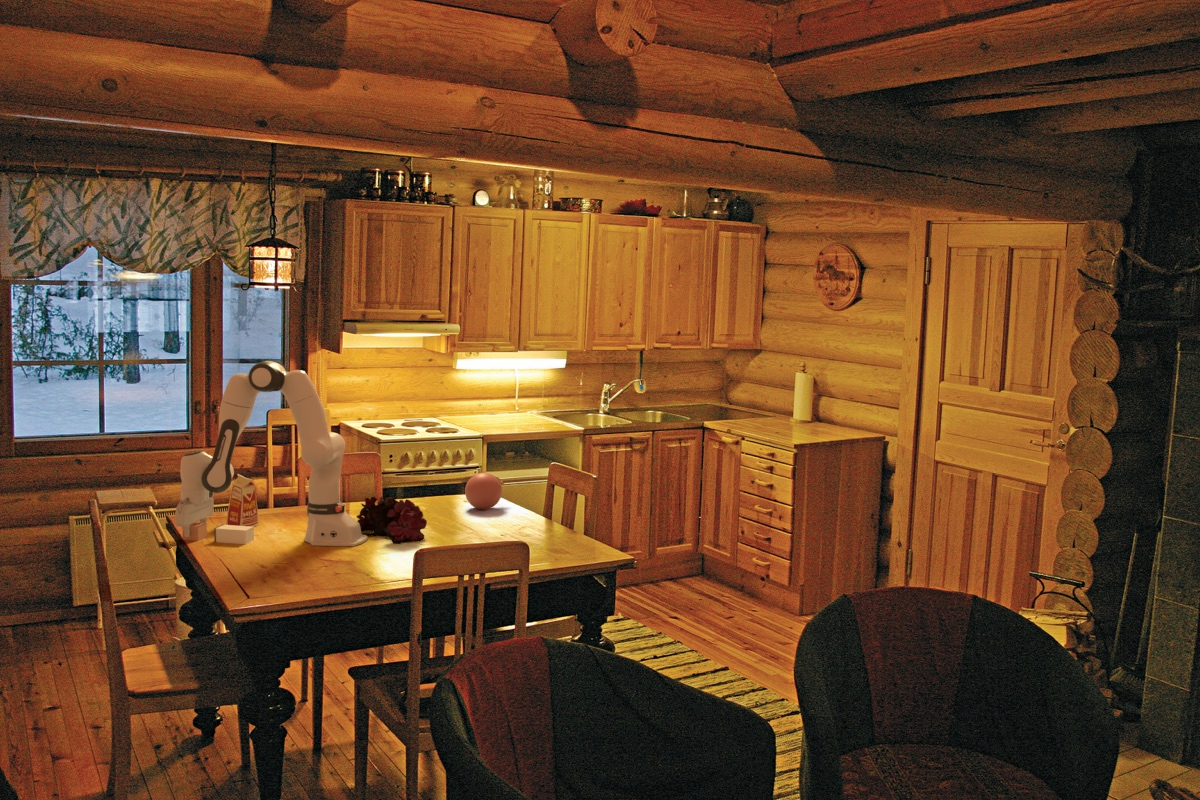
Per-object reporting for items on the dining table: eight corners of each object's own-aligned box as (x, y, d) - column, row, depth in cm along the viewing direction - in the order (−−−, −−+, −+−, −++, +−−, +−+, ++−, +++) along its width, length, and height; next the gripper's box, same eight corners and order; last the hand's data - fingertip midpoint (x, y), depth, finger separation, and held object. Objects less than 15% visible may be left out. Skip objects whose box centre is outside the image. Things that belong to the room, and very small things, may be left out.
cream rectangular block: (253, 540, 385) (253, 526, 385) (245, 544, 379) (245, 530, 379) (222, 538, 387) (222, 524, 387) (214, 542, 381) (214, 528, 381)
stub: (206, 536, 388) (206, 523, 388) (198, 540, 382) (197, 526, 382) (191, 535, 389) (191, 522, 389) (182, 539, 383) (182, 525, 383)
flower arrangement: (345, 533, 402) (345, 494, 400) (385, 524, 418) (385, 486, 416) (403, 547, 383) (403, 506, 382) (442, 537, 399) (442, 498, 398)
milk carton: (225, 527, 406) (224, 475, 404) (244, 522, 415) (243, 471, 412) (243, 530, 402) (242, 477, 400) (261, 525, 410) (260, 474, 408)
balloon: (517, 507, 453) (517, 472, 451) (482, 514, 438) (482, 477, 436) (492, 502, 463) (492, 467, 461) (457, 508, 448) (457, 472, 446)
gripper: (186, 502, 373) (187, 540, 375) (216, 490, 393) (217, 527, 395) (169, 501, 374) (170, 539, 376) (200, 489, 394) (201, 526, 396)
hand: (194, 533), depth 386 cm, fingers open, 8 cm apart
